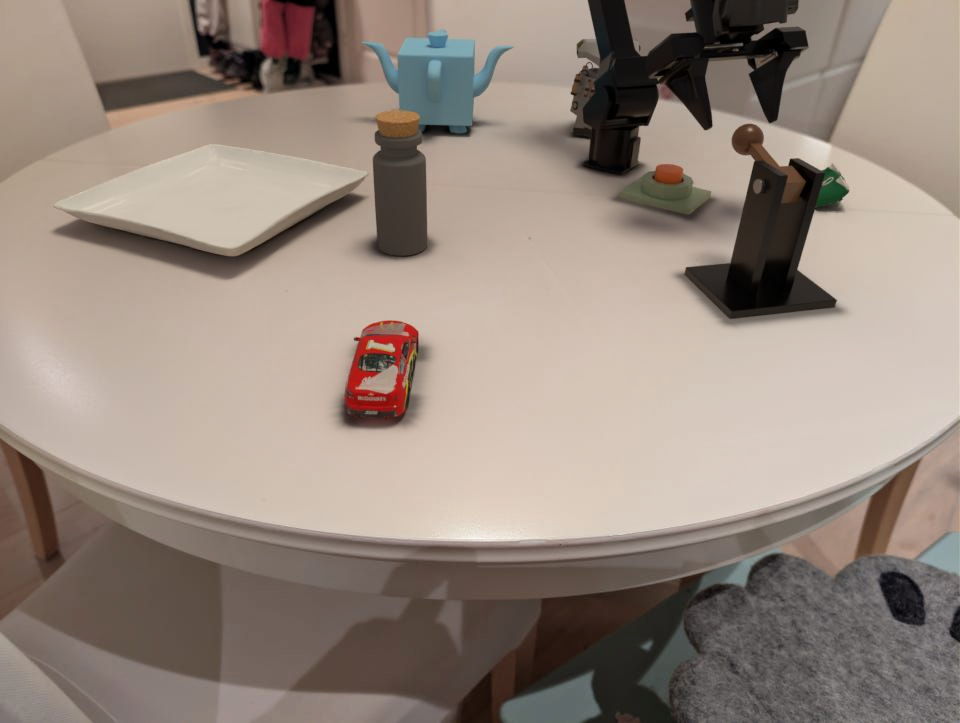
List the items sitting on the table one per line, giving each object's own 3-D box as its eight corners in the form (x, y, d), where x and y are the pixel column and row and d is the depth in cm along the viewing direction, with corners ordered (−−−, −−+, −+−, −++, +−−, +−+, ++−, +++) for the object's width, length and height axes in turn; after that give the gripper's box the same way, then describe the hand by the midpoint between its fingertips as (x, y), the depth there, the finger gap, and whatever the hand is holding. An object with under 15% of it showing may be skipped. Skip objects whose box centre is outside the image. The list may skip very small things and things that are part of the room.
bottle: (435, 239, 88) (433, 111, 80) (415, 259, 84) (411, 126, 75) (390, 232, 90) (384, 105, 82) (368, 251, 85) (360, 119, 77)
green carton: (813, 224, 100) (856, 197, 97) (798, 203, 99) (841, 175, 96) (802, 199, 107) (842, 174, 104) (788, 179, 106) (828, 153, 103)
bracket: (683, 276, 82) (707, 153, 74) (779, 267, 84) (812, 147, 77) (729, 321, 74) (761, 189, 66) (834, 310, 76) (877, 180, 69)
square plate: (374, 196, 100) (372, 168, 97) (237, 280, 79) (232, 246, 77) (215, 164, 109) (210, 137, 106) (56, 231, 88) (46, 200, 86)
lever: (722, 145, 79) (732, 118, 77) (748, 143, 80) (759, 117, 78) (770, 207, 72) (783, 180, 70) (799, 205, 73) (812, 178, 71)
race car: (366, 337, 70) (364, 300, 68) (423, 340, 70) (423, 302, 68) (336, 424, 59) (332, 382, 57) (404, 427, 59) (402, 386, 56)
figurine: (631, 143, 122) (645, 46, 113) (563, 135, 124) (571, 39, 116) (638, 128, 129) (651, 35, 121) (573, 121, 132) (582, 30, 123)
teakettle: (434, 147, 118) (433, 48, 109) (362, 121, 128) (356, 29, 120) (515, 125, 129) (520, 34, 121) (442, 103, 140) (442, 18, 131)
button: (649, 181, 99) (651, 169, 98) (660, 174, 102) (662, 162, 101) (675, 187, 98) (677, 174, 97) (685, 180, 100) (687, 167, 99)
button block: (618, 199, 101) (621, 178, 99) (642, 183, 106) (645, 162, 104) (688, 217, 96) (692, 195, 94) (710, 199, 102) (714, 178, 100)
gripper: (689, -49, 74) (719, 105, 74) (832, -50, 80) (859, 91, 80) (631, 7, 85) (658, 142, 85) (761, 2, 91) (786, 127, 91)
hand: (741, 125), depth 85 cm, fingers open, 9 cm apart
